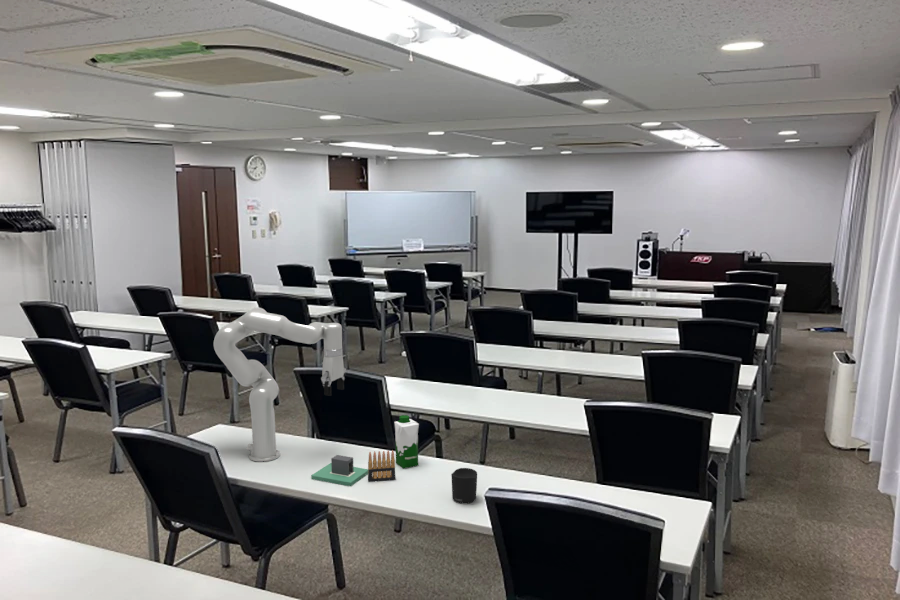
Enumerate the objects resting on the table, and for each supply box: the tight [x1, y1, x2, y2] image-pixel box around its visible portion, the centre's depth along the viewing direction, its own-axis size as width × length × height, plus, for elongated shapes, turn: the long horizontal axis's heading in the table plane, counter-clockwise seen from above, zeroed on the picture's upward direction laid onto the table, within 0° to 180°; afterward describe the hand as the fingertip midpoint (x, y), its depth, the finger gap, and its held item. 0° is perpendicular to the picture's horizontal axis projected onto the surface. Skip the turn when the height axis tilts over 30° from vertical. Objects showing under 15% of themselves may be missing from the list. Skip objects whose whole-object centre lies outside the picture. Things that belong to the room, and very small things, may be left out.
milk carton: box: [394, 414, 420, 470], centre depth 277 cm, size 9×9×20 cm
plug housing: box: [330, 454, 354, 476], centre depth 266 cm, size 8×4×6 cm, turn 67°
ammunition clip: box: [367, 449, 397, 483], centre depth 262 cm, size 11×2×12 cm, turn 101°
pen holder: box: [450, 467, 478, 504], centre depth 246 cm, size 9×9×10 cm
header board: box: [310, 462, 368, 487], centre depth 267 cm, size 18×14×5 cm
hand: (334, 392), depth 283 cm, fingers open, 9 cm apart
